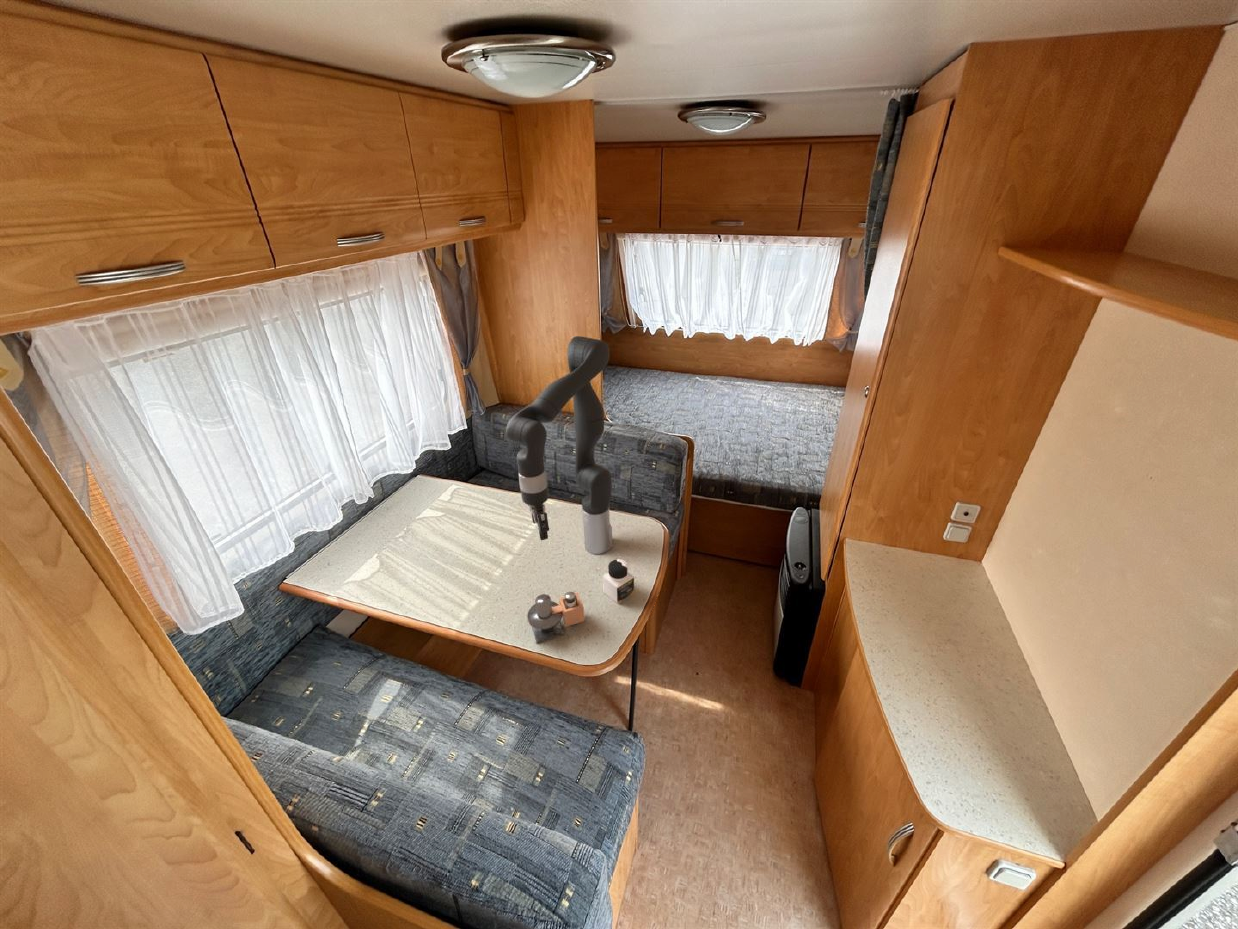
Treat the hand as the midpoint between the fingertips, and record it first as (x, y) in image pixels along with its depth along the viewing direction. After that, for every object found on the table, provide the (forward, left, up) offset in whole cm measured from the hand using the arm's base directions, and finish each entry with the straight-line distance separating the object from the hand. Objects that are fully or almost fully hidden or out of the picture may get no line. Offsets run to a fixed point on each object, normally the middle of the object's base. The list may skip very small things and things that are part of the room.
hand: (540, 530), depth 150 cm
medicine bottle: (-21, +7, -26) cm, 35 cm away
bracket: (-3, +13, -24) cm, 28 cm away
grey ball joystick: (+4, +13, -26) cm, 30 cm away
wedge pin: (-4, +13, -26) cm, 30 cm away
